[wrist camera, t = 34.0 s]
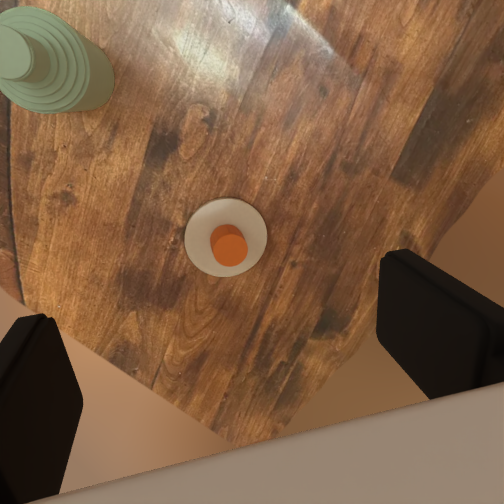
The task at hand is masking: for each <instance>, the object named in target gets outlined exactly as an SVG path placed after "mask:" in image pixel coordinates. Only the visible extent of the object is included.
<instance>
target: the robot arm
mask: <svg viewBox="0 0 504 504" xmlns="http://www.w3.org/2000/svg"><path fill="white" fill-rule="evenodd" d="M376 334H377V338H378V340H379V342H380V343H381V345H382V346H383V347H384V348H385V349H386V350H387V351H388V352H389V354H390V355H391V356H392V357H393V358H394V359H395V361H396V362H397V363H398V364H399V365H400V366H401V367H402V369H403V370H404V371H405V372H406V373H407V374H408V375H409V377H410V378H411V379H412V380H413V381H414V382H415V383H416V385H417V386H418V387H419V388H420V389H421V390H422V391H423V393H424V394H425V395H426V396H427V397H428V398H429V399H430V400H428V401H424V402H420V403H415V404H411V405H407V406H404V407H400V408H395V409H391V410H387V411H383V412H379V413H375V414H371V415H367V416H363V417H359V418H355V419H351V420H347V421H343V422H339V423H335V424H331V425H327V426H323V427H319V428H315V429H311V430H307V431H303V432H299V433H295V434H291V435H288V436H283V437H279V438H275V439H271V440H267V441H263V442H259V443H255V444H252V445H248V446H244V447H240V448H236V449H232V450H228V451H224V452H221V453H216V454H212V455H209V456H205V457H201V458H197V459H193V460H189V461H185V462H182V463H178V464H174V465H170V466H166V467H162V468H158V469H154V470H151V471H147V472H143V473H139V474H135V475H131V476H127V477H123V478H120V479H116V480H112V481H108V482H104V483H100V484H97V485H93V486H89V487H85V488H81V489H78V490H74V491H70V492H66V493H62V494H59V491H60V488H61V484H62V481H63V477H64V473H65V470H66V466H67V462H68V459H69V455H70V452H71V448H72V445H73V441H74V438H75V434H76V431H77V427H78V423H79V419H80V416H81V413H82V409H83V397H82V393H81V390H80V387H79V385H78V382H77V379H76V376H75V373H74V371H73V368H72V365H71V362H70V360H69V357H68V354H67V352H66V349H65V346H64V343H63V340H62V338H61V335H60V332H59V329H58V327H57V324H56V322H55V320H54V318H52V317H50V318H47V316H46V315H45V314H43V313H42V314H36V315H31V316H25V317H20V318H18V319H17V320H16V321H15V322H14V324H13V325H12V327H11V328H10V329H9V331H8V332H7V334H6V335H5V337H4V338H3V340H2V341H1V343H0V504H504V308H503V307H501V306H500V305H498V304H496V303H495V302H493V301H491V300H490V299H488V298H487V297H485V296H483V295H482V294H480V293H478V292H477V291H475V290H474V289H472V288H470V287H469V286H467V285H465V284H464V283H462V282H461V281H459V280H457V279H456V278H454V277H452V276H451V275H449V274H448V273H446V272H444V271H443V270H441V269H439V268H438V267H436V266H434V265H433V264H431V263H430V262H428V261H426V260H425V259H423V258H422V257H420V256H418V255H417V254H415V253H413V252H412V251H410V250H409V249H401V250H395V251H389V252H387V253H386V254H385V257H383V258H381V260H380V271H379V289H378V307H377V325H376Z"/></svg>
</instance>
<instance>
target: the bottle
mask: <svg viewBox="0 0 504 504" xmlns="http://www.w3.org/2000/svg"><path fill="white" fill-rule="evenodd" d="M114 84H115V76H114V71H113V68H112V65H111V63H110V61H109V59H108V57H107V56H106V55H105V53H104V52H103V51H102V50H101V49H100V48H99V47H98V46H96V45H95V44H94V43H92V42H91V41H90V40H89V39H87V38H86V37H85V36H83V35H82V34H81V33H79V32H78V31H77V30H75V29H74V28H73V27H71V26H70V25H69V24H67V23H66V22H65V21H63V20H62V19H61V18H59V17H58V16H56V15H54V14H53V13H51V12H49V11H46V10H44V9H40V8H37V7H30V6H21V7H15V8H11V9H8V10H6V11H4V12H2V13H1V14H0V90H1V91H2V93H3V94H4V95H6V96H7V97H8V98H9V99H10V100H11V101H13V102H14V103H16V104H17V105H19V106H21V107H23V108H25V109H27V110H30V111H33V112H36V113H41V114H57V113H67V112H78V111H89V110H94V109H97V108H99V107H101V106H102V105H104V104H105V103H106V102H107V101H108V100H109V98H110V97H111V95H112V92H113V89H114Z"/></svg>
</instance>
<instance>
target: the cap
mask: <svg viewBox="0 0 504 504" xmlns="http://www.w3.org/2000/svg"><path fill="white" fill-rule="evenodd" d="M210 243H211V244H210V246H211V249H212V253H213V254H214V257H215V259H216V261H217V262H218V263H219V264H221V265H223V266H227V267H233V266H236V265H238V264H240V263H242V262H243V261H244V259H245V258H246V256H247V253H248V246H247V243H246V241H245V238H244V236H243V234H242V233H241V231H240V230H239V229H238V228H237V227H235V226H233V225H229V224H225V225H221V226H219V227H217V228H216V229H215V230H214V231H213V232H212V234H211V237H210Z"/></svg>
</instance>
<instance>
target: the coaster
mask: <svg viewBox="0 0 504 504" xmlns="http://www.w3.org/2000/svg"><path fill="white" fill-rule="evenodd" d="M225 224H229V225H233V226H235V227H237V228H238V229H239V230H240V231H241V233H242V234H243V236H244V238H245V241H246V243H247V246H248V253H247V256H246V258H245V259H244V261H243V262H242V263H240V264H238V265H236V266H233V267H227V266H223V265H221V264H219V263H218V262H217V261H216V259H215V257H214V254H213V253H212V249H211V246H210V244H211V243H210V237H211V234H212V232H213V231H214V230H215V229H216V228H217V227H219V226H221V225H225ZM184 242H185V248H186V252H187V254H188V256H189V258H190V260H191V261H192V262H193V264H194V265H195V266H196V267H197V268H199V269H200V270H201V271H203V272H205V273H207V274H210V275H213V276H218V277H230V276H235V275H238V274H241V273H243V272H245V271H247V270H248V269H250V268H251V267H252V266H254V265H255V264H256V262H257V261H258V260H259V259H260V257H261V256H262V254H263V252H264V249H265V247H266V242H267V230H266V226H265V223H264V220H263V218H262V217H261V215H260V214H259V212H258V211H257V210H256V209H255V208H254V207H253V206H252V205H250V204H249V203H247V202H245V201H243V200H240V199H237V198H232V197H222V198H216V199H213V200H210V201H208V202H206V203H204V204H203V205H201V206H200V207H199V208H198V209H196V210H195V212H194V213H193V214H192V215H191V217H190V218H189V220H188V222H187V225H186V228H185V233H184Z"/></svg>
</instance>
